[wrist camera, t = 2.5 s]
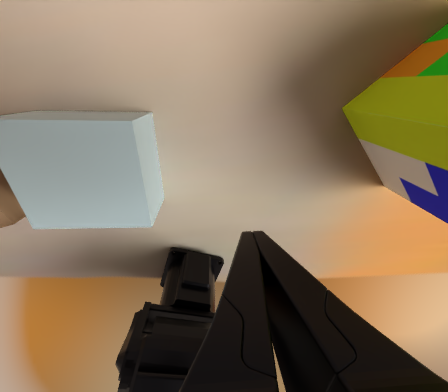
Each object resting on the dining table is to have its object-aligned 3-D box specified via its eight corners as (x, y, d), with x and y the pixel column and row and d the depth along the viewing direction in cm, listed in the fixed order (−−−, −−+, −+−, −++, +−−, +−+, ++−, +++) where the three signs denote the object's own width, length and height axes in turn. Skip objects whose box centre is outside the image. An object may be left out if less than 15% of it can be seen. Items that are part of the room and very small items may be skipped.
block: (164, 196, 20) (151, 227, 16) (72, 197, 20) (33, 229, 16) (153, 111, 17) (131, 121, 12) (38, 110, 16) (-27, 119, 12)
